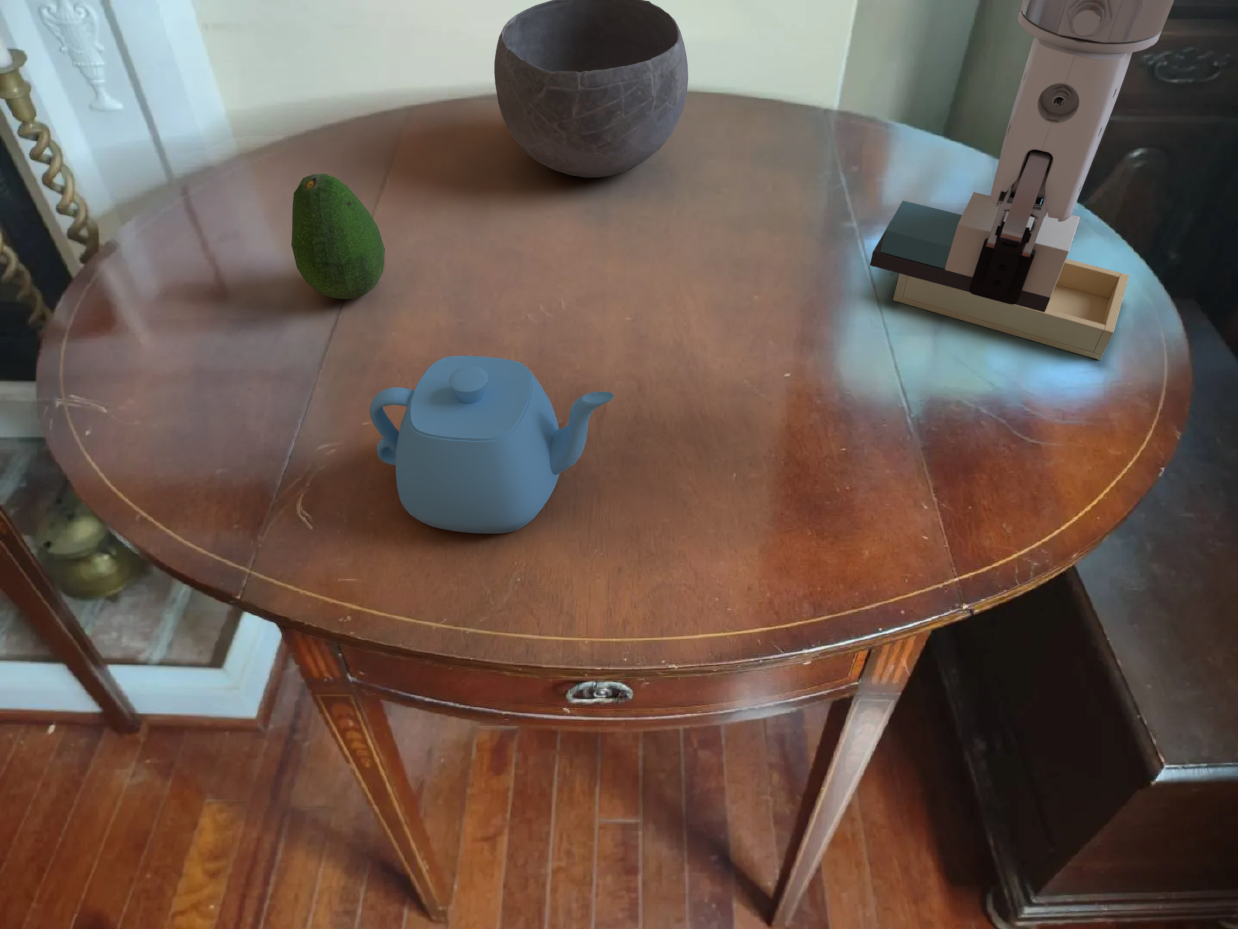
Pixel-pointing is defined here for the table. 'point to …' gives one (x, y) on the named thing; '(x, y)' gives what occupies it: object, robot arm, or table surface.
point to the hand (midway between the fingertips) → (1001, 273)
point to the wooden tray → (1069, 322)
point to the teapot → (479, 443)
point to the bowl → (591, 83)
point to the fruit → (335, 239)
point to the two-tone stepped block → (968, 247)
